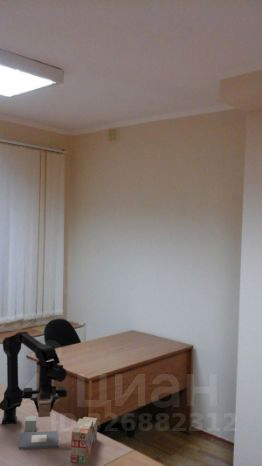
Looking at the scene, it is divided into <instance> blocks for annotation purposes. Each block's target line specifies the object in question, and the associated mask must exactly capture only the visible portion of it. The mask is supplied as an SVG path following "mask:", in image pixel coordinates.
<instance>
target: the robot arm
mask: <svg viewBox="0 0 262 466" xmlns="http://www.w3.org/2000/svg"><path fill="white" fill-rule="evenodd" d="M22 345H23V346H25V347H27V348H28V349H30V350H31V352H33V353H34V355H35V358H36V359H37V360H38V361H36V365H38V366H39V368H38V369H39V370H38V373H39V374H38V389H37V390H36V389H35V390H33V387H24V388H23V389H21V388H20V386H19V357H18V355H19V353H20V352H21V349H22ZM2 348H3V349H2V350H3V352H4V354H5V355H6V369H7V370H6V377H7V378H6V379H7V382H6V383H7V387H6V389H5V391H4V392H3V399H2V400H1V401H0V410H2V411H3V417H2V421H1V424H16V423H17V420H18V416H17V408H19V407H21V405H22V402H23V399H25V400H27V399H28V400H29V399H30V401H33V402H34V406H35V409H36V412H37V414H38V411H39V408H38V406H39V399H40V401H44V400H50V404H51V408H50V413H51V412H52V410H53V407H54V405H55V403H56V401H58V400H60V398H66V397H67V396H68V389H67V387H66V386H53V381H56V382H59V383H62V382H63V381H65V379H66V378H67V374H68V373H67V370H66V368H64V365H63V364H61V362H60V358H59V356H58V353H57V351H56V349H55V347H54V346H52V345H49V344H43V343H42V342H41V341H39V340H38V339H36V338H35V337H33V336H32V335H30V334H29V332H28V331H19V332H17V333H15V334H12V335H11V336H7V337H4V339H2ZM38 397H39V398H38Z"/></svg>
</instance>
